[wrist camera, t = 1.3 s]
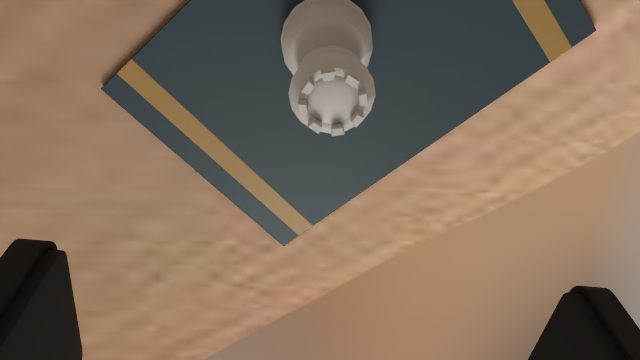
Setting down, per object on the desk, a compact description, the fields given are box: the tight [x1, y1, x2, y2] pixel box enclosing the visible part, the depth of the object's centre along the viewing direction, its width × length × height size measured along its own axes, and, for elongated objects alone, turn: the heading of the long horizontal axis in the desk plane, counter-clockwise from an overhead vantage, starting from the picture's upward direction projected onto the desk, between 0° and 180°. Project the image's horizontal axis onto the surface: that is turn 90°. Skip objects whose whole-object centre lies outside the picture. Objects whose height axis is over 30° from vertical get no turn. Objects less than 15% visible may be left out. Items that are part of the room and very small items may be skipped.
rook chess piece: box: [281, 0, 375, 136], centre depth 21 cm, size 4×4×8 cm
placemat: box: [101, 0, 596, 246], centre depth 26 cm, size 21×14×1 cm, turn 130°
